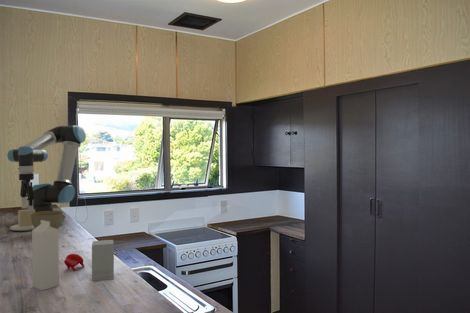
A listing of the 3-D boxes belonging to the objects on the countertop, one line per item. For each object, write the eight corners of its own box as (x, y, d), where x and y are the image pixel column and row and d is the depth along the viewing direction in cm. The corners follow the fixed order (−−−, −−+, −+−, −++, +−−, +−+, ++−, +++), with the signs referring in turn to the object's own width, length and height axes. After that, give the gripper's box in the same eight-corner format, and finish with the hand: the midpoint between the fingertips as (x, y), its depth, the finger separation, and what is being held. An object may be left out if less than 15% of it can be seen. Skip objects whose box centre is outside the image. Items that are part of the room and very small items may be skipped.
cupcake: (68, 224, 240) (67, 204, 240) (60, 226, 232) (60, 206, 231) (54, 223, 241) (54, 204, 241) (46, 226, 233) (46, 206, 232)
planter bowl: (30, 237, 205) (30, 216, 204) (30, 231, 219) (30, 211, 219) (64, 233, 212) (63, 213, 212) (62, 228, 226) (61, 209, 226)
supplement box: (113, 279, 137) (113, 243, 137) (91, 281, 135) (91, 245, 135) (114, 273, 145) (113, 239, 144) (92, 275, 142) (92, 240, 142)
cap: (69, 265, 144) (83, 253, 148) (60, 257, 147) (73, 246, 151) (76, 277, 149) (89, 266, 153) (67, 270, 152) (79, 259, 156)
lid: (6, 227, 227) (6, 210, 227) (38, 223, 238) (38, 207, 238) (14, 232, 214) (13, 213, 214) (47, 227, 225) (46, 210, 225)
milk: (50, 282, 135) (49, 218, 135) (59, 285, 132) (58, 220, 131) (32, 287, 130) (31, 221, 130) (41, 290, 127) (40, 222, 126)
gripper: (13, 172, 232) (14, 207, 233) (24, 174, 214) (25, 213, 215) (27, 171, 237) (28, 206, 238) (39, 174, 219) (40, 211, 220)
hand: (27, 209), depth 226 cm, fingers open, 13 cm apart
